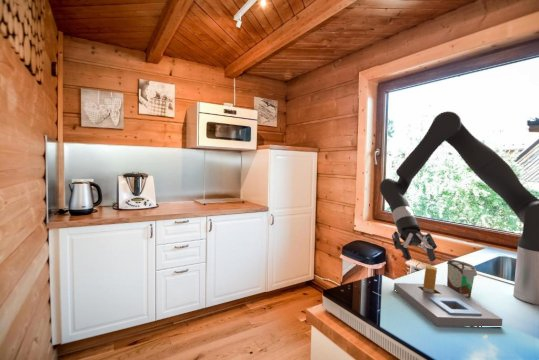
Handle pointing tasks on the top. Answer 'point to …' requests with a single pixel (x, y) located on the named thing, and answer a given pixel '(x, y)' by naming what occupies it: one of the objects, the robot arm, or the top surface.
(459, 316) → the board
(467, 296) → the food container
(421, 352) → the top surface
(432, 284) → the supplement box
